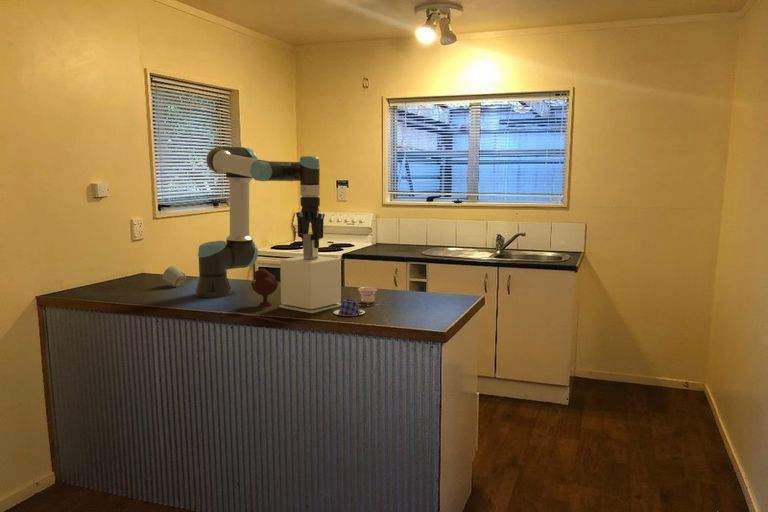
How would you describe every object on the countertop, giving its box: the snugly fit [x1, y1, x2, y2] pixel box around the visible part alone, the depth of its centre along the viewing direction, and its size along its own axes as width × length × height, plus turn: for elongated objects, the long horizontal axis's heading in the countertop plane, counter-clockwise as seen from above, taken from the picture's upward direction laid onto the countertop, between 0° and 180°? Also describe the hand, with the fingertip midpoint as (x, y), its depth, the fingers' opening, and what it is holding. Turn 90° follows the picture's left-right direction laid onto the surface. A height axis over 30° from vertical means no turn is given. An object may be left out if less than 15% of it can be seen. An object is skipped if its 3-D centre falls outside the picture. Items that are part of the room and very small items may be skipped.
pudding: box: [333, 298, 366, 317], centre depth 226 cm, size 12×12×5 cm
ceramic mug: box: [161, 265, 187, 288], centre depth 282 cm, size 11×8×8 cm
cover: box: [279, 232, 342, 309], centre depth 236 cm, size 17×17×28 cm
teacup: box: [357, 286, 380, 306], centre depth 244 cm, size 12×12×6 cm
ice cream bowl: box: [250, 268, 279, 308], centre depth 239 cm, size 11×11×15 cm
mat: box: [278, 302, 341, 314], centre depth 238 cm, size 18×18×1 cm
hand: (310, 255), depth 236 cm, fingers closed on cover, 4 cm apart
